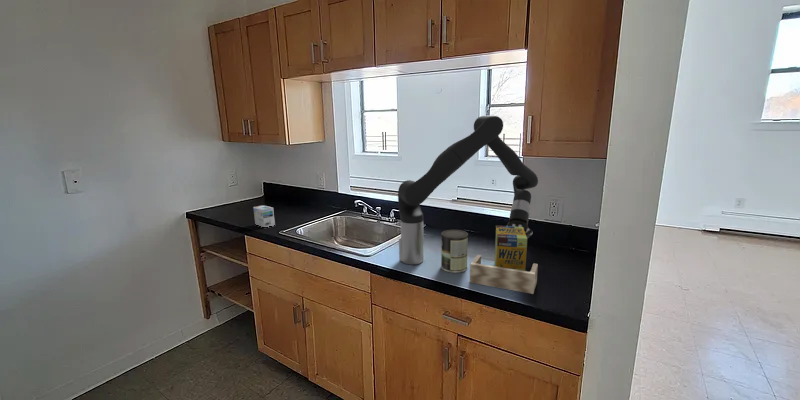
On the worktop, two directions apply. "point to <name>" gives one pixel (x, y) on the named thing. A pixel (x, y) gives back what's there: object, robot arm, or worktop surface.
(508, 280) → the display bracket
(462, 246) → the coffee can
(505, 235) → the protein box
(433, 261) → the worktop surface
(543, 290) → the worktop surface
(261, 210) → the light bulb box
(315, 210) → the worktop surface
